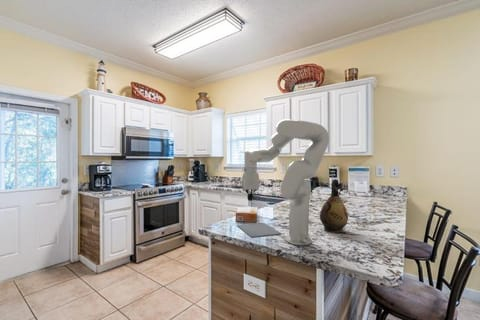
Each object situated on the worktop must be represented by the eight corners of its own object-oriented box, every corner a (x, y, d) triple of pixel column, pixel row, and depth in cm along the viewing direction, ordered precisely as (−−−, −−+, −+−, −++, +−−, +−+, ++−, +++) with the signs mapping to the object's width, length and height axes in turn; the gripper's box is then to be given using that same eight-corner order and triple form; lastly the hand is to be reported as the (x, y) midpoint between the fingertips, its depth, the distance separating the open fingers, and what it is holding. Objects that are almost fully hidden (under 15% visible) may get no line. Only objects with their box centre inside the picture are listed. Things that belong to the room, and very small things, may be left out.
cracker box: (256, 223, 153) (257, 214, 173) (256, 213, 152) (258, 206, 173) (235, 221, 154) (238, 213, 175) (235, 212, 154) (239, 205, 175)
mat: (281, 234, 130) (281, 233, 130) (251, 237, 124) (251, 236, 124) (263, 223, 151) (263, 222, 151) (237, 225, 144) (237, 224, 144)
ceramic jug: (350, 235, 130) (352, 181, 130) (321, 233, 133) (322, 180, 133) (343, 226, 147) (344, 178, 146) (317, 224, 150) (318, 177, 149)
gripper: (241, 170, 138) (240, 202, 138) (264, 170, 143) (263, 200, 143) (236, 170, 145) (236, 199, 145) (259, 169, 150) (258, 198, 150)
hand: (250, 200), depth 144 cm, fingers closed
